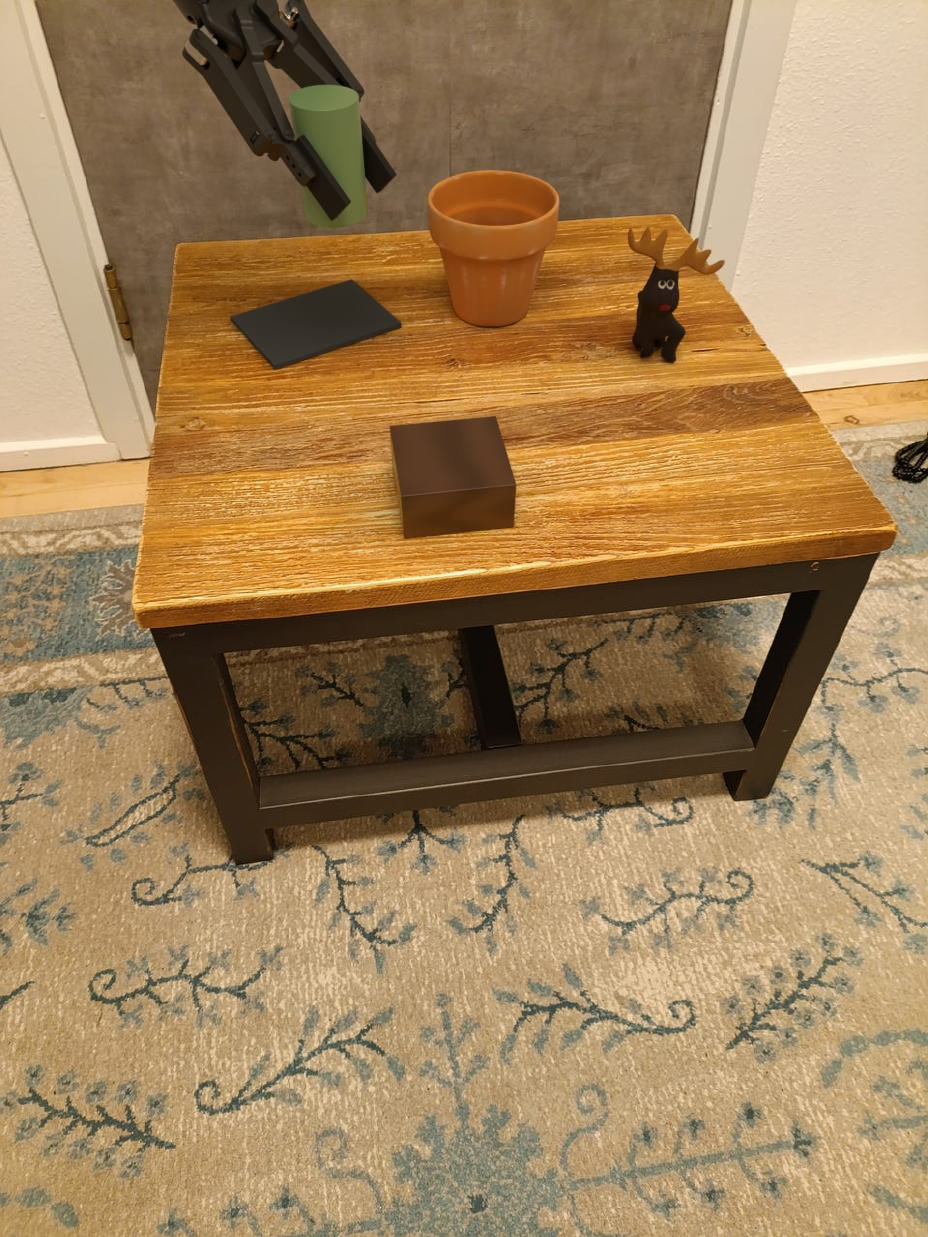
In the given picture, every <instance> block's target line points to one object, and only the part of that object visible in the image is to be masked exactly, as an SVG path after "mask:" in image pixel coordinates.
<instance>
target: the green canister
mask: <svg viewBox="0 0 928 1237" xmlns="http://www.w3.org/2000/svg"><path fill="white" fill-rule="evenodd" d="M288 106H289V115H290V121H291V122H290V123H291V127H292V129H293V132H294V135H295V137H294V140H295V141H296V140H297V138H298V137H300V136H302V135H305V137H306V138H307V139H308V141H309V142H310V143H311V145H312V146H313V148H314V149H315V151H316V152H317V153H318V155H319V156H320V158H321V159H322V161H323V162H324V163H325V165H326V166H327V168H328V169H329V171H330V172H331V173H332V175H333V176H334V178H335V179H336V181H337V182H338V183H339V185H340V186H341V188H342V189H343V190H344V192H345V193H346V195H347V196H348V198H349V199H350V200H351V203H350V204H349V205H348V206H347V207H346V208H345V209H344V210H343V211H342V213H341V214H340V215H339V216H338V217H337V218H336V219H334V220H332V221H331V220H330V218H329V217H328V216H327V214H326V213H325V211H324V210H323V209H322V207H321V206H320V204H319V203H318V202H317V200H316V199H315V197H314V196H313V195H312V193H311V192H310V190H309V189H308V188H307V186H305V187H303V186H302V185H301V184H299V186H300V187H299V188H300V196H301V204H302V212H303V217H304V219H305V221H306V222H308V223H310V225H313V226H316V227H319V228H325V229H326V228H327V229H340V228H347V227H348V228H349V227H351V226H355V225H357V224H359V223H361V222H362V221H364V220H365V219H366V218H367V216H368V214H369V208H368V196H367V195H368V194H367V183H366V177H365V169H364V157H363V144H362V132H361V119H360V115H361V110H360V109H361V108H360V107H361V106H360V103H359V96H358V93H357V92H356V91H354V90H353V89H350V88H347V87H344V86H338V85H316V86H309V87H305V88H302V89H301V88H299V89H297V90H295V91H293V92H292V93H291V94H290V95H289V96H288Z"/></svg>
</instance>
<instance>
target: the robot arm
mask: <svg viewBox="0 0 928 1237" xmlns="http://www.w3.org/2000/svg"><path fill="white" fill-rule="evenodd" d="M172 2H173V3H174V5H175V6H176V8H177V9H178V10H179V12H180V13H181V15H182V16H183V18H184V19H185V20H186V21H187V22H188V23H190V24H191V25H194V26H196V28H193V29H192V31H191V33H190V35H189V37H188V39H187V41H186V43H185V45H184V46H183V48H182V50H181V55H182V57H183V58H184V59H185V61H186V62H187V63H188V64H190V66H191V67H193V68H194V69H195V70H196V71H197V72H198V73H199V74H200V75H201V76H202V78H203V79H204V81H205V83H207V85H208V87H209V88H210V90H211V91H212V93H213V95H214V96H215V97H216V99H217V100H218V102H219V103H220V105H221V106H222V108H223V109H224V111H225V113H226V114H227V116H228V118H230V120H231V121H232V124H233V125H234V126H235V128H236V129H237V131H238V133H239V134H240V135H241V137H242V138H243V140H244V141H245V143H246V145H247V146H248V148H249V149H250V151H251V152H252V154H253V155H255V156H256V157H263V156H264V155H265V154H266V156H267V158H268V159H269V160H270V161H272V162H278V161H279V160H280V159H281V160H282V162H283V164H285V166H286V167H287V169H288V170H289V171H290V173H291V174H292V176H293V177H294V178H295V181H296V182H297V183H298V184H299V185H300V184H301V185H302V186H303V187H305V186H307V188H308V189H309V190H310V192H311V193H312V195H313V196H314V197H315V199H316V200H317V202H318V203H319V204H320V206H321V207H322V209H323V210H324V211H325V213H326V214H327V216H328V217H329V218H330V220H331V221H332V220H334V219H336V218H337V217H338V216H339V215H340V214H341V213H342V211H343V210H344V209H345V208H346V207H347V206H348V205H349V204H350V203H351V200H350V199H349V198H348V196H347V195H346V193H345V192H344V190H343V189H342V188H341V186H340V185H339V183H338V182H337V181H336V179H335V178H334V176H333V175H332V173H331V172H330V171H329V169H328V168H327V166H326V165H325V163H324V162H323V161H322V159H321V158H320V156H319V155H318V153H317V152H316V151H315V149H314V148H313V146H312V145H311V143H310V142H309V141H308V139H307V138H306V137H305V135H302V136H300V137H298V138H297V140H296V141H295V140H294V137H295V135H294V132H293V129H292V124H291V122H290V120H289V118H288V116H287V113H286V111H285V109H284V106H283V104H282V101H281V99H280V97H279V94H278V92H277V90H276V87H275V85H274V82H273V80H272V78H271V76H270V73H269V71H268V69H267V66H266V64H265V61H266V62H267V63H269V65H270V66H272V67H273V68H274V69H275V70H282V71H283V72H284V73H285V74H286V75H287V76H288V77H289V78H290V79H291V80H292V81H293V82H294V83H295V84H296V85H297V86H298V87H299V89H302V88H305V87H309V86H316V85H338V86H344V87H347V88H350V89H353V90H354V91H356V92H357V93H358V96H359V104H361V102H362V98H363V96H364V95H365V88H364V87H363V86H362V85H361V83H360V81H359V80H358V78H356V76H355V75H354V73H353V72H352V71H351V68H350V67H349V66H348V64H346V62H345V61H344V59H343V58H342V57H341V55H340V54H339V53H338V51H337V50H336V48H335V47H334V46H333V45H332V43H331V41H329V39H328V38H327V37H326V35H325V33H324V32H323V31H322V29H321V28H320V27H319V25H318V24H317V23H316V22H315V20H314V19H313V17H312V15H311V13H310V10H309V7H308V6H307V4H306V1H305V0H172ZM282 43H283V45H282ZM281 45H282V47H281V48H280V46H281ZM279 48H280V49H279ZM278 50H279V51H278ZM363 118H364V117H362V115H361V114H360V119H361V132H362V144H363V157H364V169H365V180H367V182H368V183H369V185H370V186H371V187H372V189H373V191H374V192H375V194H379V193H380V192H382V191H383V190H384V189H385V188H386V187H387V186H389V184H390V182H392V180H394V178H395V177H397V174H398V173H397V172H396V171H395V169H394V168H393V167H392V165H391V164H390V162H389V161H388V159H387V158H386V156H385V155H384V154H383V152H382V150H381V149H380V147H379V146H378V145H377V143H378V141H377V139H376V135H375V134H373V132H372V130H371V129H370V127H369V126H368V124H367V123H366V122H365V120H364V119H363Z"/></svg>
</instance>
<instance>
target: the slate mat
mask: <svg viewBox="0 0 928 1237" xmlns="http://www.w3.org/2000/svg"><path fill="white" fill-rule="evenodd" d="M229 316H230V317H229V319H230V321H231V323H232V324H233V325H234V326H235V327H236V328H237V330H238V331H239V332H240V333H241V334H242V335H243V336H244V338H246V340H248V342H249V343H250V344H251V345H252V346H253V348H255V349H256V351H257V352H258V353H259V354H260V355H261V357H262V358H264V360H265V361H266V362H267V363H268V364H269V365H270V367H272V369H273V370H275V371H276V370H278V369H281V368H285V367H288V366H290V365H293V364H297V363H299V362H303V361H305V360H308V359H311V358H315V357H318V356H320V355H323V354H327V353H329V352H332V351H335V350H338V349H341V348H344V347H347V346H350V345H354V344H356V343H359V342H362V341H365V340H367V339H371V338H374V337H377V336H380V335H382V334H383V335H384V334H386V333H389V332H391V331H395V330H399V329H400V328H402V322H401V320H399V319H398V318H397V317H396V316H394V315H393V313H391V312H390V311H389V310H388V309H387V308H385V307H384V306H383V305H382V304H381V303H380V302H379V301H378V300H376V298H374V297H373V296H372V295H371V294H370V293H368V292H367V290H365V289H364V288H363V287H362V286H361V285H360V284H359V283H357V282H356V281H355V280H354V279H353V278H350V279H348V280H344V281H341V282H338V283H335V284H330V285H328V286H325V287H322V288H321V287H320V288H318V289H315V290H312V291H308V292H305V293H302V294H298V295H295V296H292V297H289V298H285V299H282V300H279V301H276V302H273V303H270V304H266V305H262V306H259V307H255V308H253V309H250V310H246V311H242V312H239V313H236V314H233V315H229Z"/></svg>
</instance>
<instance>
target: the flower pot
mask: <svg viewBox="0 0 928 1237" xmlns="http://www.w3.org/2000/svg"><path fill="white" fill-rule="evenodd" d="M560 202H561V200H560V197H559V193H558V192H557V190H556V189H555V188H554V187H553V186H552V185H551V184H549V183H548V182H546V181H545V180H543V179H542V178H541V179H540V178H538V177H535V176H533V175H529V174H526V173H521V172H516V171H509V170H497V169H495V170H494V169H493V170H492V169H491V170H490V169H489V170H488V169H487V170H475V171H467V172H463V173H462V172H461V173H459V174H455V175H452V176H449V177H447V178H444V179H442V180H441V181H439V182H438V183H436V184H435V185H434V186H433V187H431V189H430V191H429V193H428V195H427V218H428V219H427V220H428V230H429V234H430V237H431V239H432V241H433V242H434V243H435V244H436V245H437V246H438V248H439V252H440V256H441V260H442V265H443V270H444V273H445V277H446V281H447V286H448V290H449V295H450V299H451V302H452V307H453V311H454V313H455V314H456V316H457V317H458V318H460V319H461V320H462V321H464V322H466V323H468V324H471V325H474V326H479V327H496V328H497V327H505V326H509V325H512V324H515V323H517V322H519V321H521V320H522V319H523V318H525V317H526V315H527V314H528V312H529V308H530V305H531V302H532V299H533V295H534V291H535V288H536V285H537V281H538V278H539V275H540V274H539V273H540V270H541V267H542V263H543V261H544V260H543V259H544V256H545V252H546V249H547V248H548V247H549V246H550V245H551V244H552V243H553V241H554V240H555V238H556V234H557V230H558V221H559V212H560Z"/></svg>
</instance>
